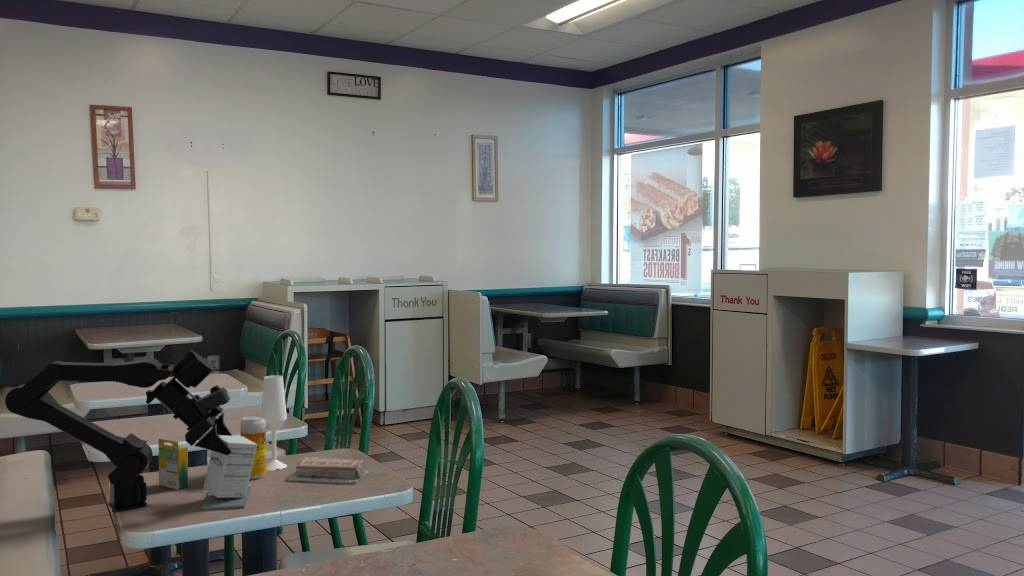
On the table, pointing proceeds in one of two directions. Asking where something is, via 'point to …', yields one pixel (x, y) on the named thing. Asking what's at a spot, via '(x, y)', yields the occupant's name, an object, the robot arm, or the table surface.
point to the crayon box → (173, 465)
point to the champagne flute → (274, 413)
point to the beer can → (256, 433)
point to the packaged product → (329, 470)
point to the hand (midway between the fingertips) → (232, 448)
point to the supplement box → (231, 468)
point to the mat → (224, 502)
